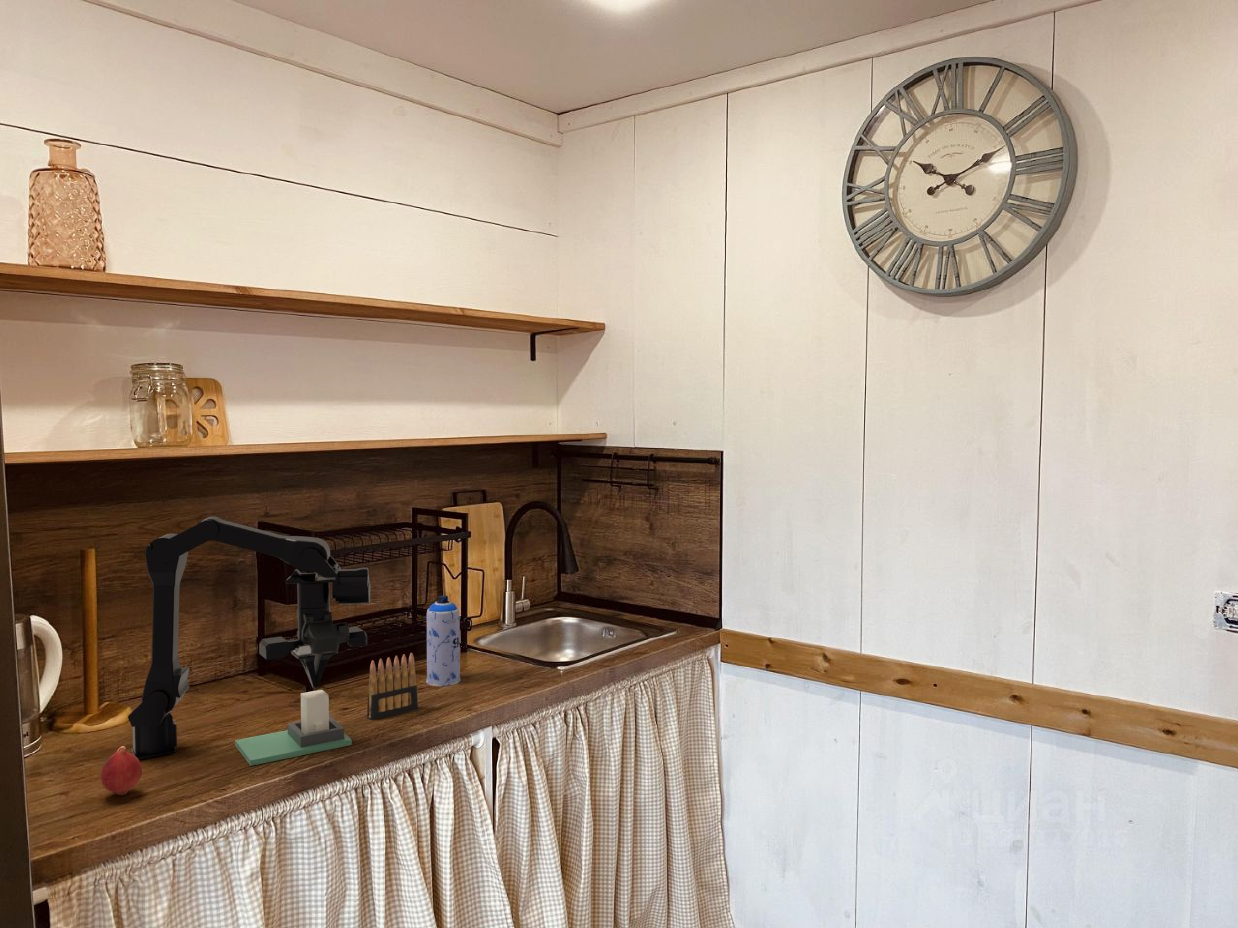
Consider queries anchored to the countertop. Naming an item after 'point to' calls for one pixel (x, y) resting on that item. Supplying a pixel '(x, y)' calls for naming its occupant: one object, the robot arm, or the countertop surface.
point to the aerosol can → (443, 643)
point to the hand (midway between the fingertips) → (315, 687)
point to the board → (291, 743)
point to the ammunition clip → (392, 689)
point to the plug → (314, 711)
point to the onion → (121, 772)
